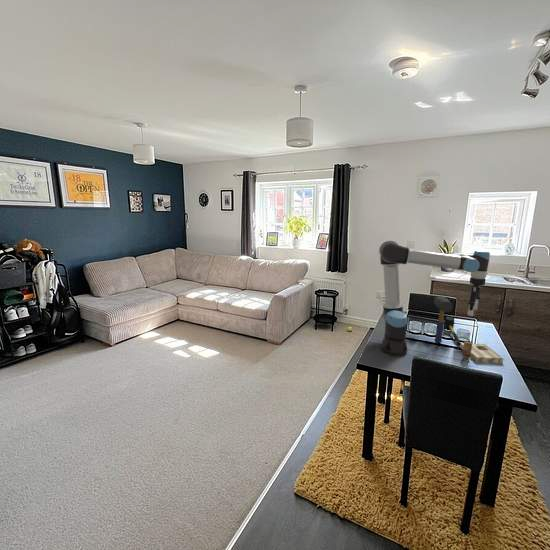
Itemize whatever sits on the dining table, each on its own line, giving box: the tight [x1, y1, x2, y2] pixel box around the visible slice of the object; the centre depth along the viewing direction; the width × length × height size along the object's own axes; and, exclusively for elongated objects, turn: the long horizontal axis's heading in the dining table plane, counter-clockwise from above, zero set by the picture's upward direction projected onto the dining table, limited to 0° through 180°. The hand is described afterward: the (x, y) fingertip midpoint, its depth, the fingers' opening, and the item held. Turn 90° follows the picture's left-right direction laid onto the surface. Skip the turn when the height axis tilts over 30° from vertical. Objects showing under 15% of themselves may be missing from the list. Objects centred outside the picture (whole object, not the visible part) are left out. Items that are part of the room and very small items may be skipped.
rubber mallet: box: [433, 295, 453, 344], centre depth 187 cm, size 12×8×30 cm, turn 171°
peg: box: [461, 341, 473, 361], centre depth 170 cm, size 4×4×10 cm
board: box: [459, 342, 504, 364], centre depth 175 cm, size 14×18×3 cm
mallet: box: [443, 316, 462, 347], centre depth 199 cm, size 29×6×10 cm, turn 164°
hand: (472, 312), depth 177 cm, fingers open, 13 cm apart
